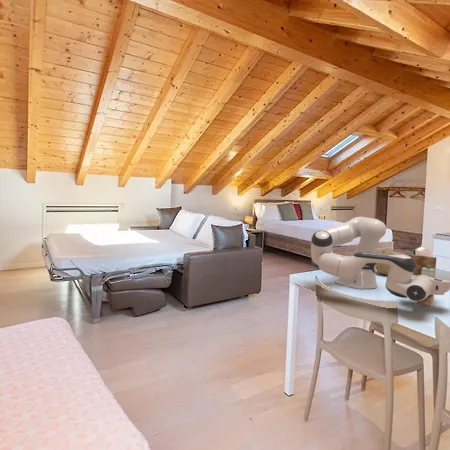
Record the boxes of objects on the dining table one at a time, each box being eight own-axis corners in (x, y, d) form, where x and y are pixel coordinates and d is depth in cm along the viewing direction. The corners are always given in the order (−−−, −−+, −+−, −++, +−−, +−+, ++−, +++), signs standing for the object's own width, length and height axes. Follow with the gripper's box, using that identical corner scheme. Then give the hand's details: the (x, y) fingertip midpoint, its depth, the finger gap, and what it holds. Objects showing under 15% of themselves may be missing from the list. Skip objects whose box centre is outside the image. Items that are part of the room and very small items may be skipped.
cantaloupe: (399, 279, 210) (401, 254, 208) (373, 276, 216) (374, 252, 214) (398, 273, 223) (400, 250, 221) (374, 270, 229) (375, 248, 227)
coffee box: (413, 276, 217) (415, 251, 215) (403, 273, 221) (404, 249, 219) (419, 273, 223) (421, 249, 221) (409, 271, 227) (410, 247, 225)
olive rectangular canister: (419, 292, 168) (421, 265, 167) (421, 290, 172) (423, 264, 171) (431, 295, 165) (433, 267, 164) (433, 292, 169) (435, 265, 167)
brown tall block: (402, 300, 171) (405, 257, 169) (408, 292, 184) (411, 252, 181) (430, 306, 164) (434, 261, 161) (436, 297, 176) (439, 255, 173)
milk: (417, 282, 202) (420, 246, 199) (413, 279, 208) (415, 244, 205) (428, 283, 201) (431, 246, 199) (423, 280, 207) (426, 244, 205)
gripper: (397, 287, 165) (404, 280, 175) (447, 296, 152) (451, 288, 162) (398, 274, 164) (404, 268, 175) (449, 282, 151) (452, 275, 162)
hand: (427, 278), depth 168 cm, fingers closed on olive rectangular canister, 5 cm apart
